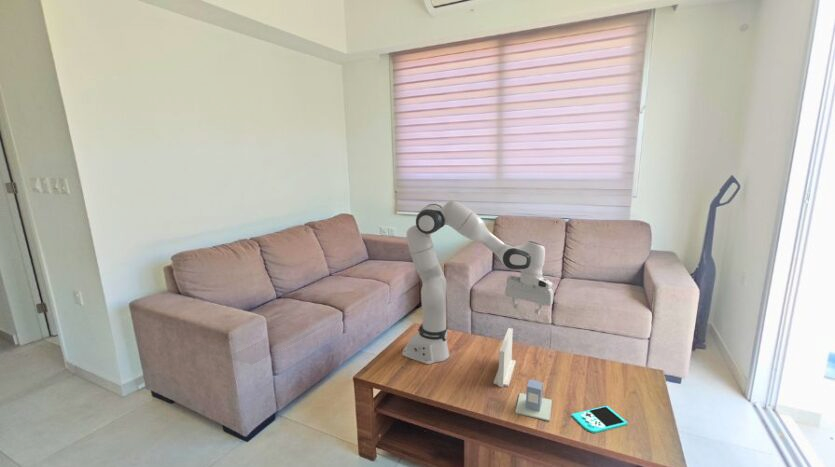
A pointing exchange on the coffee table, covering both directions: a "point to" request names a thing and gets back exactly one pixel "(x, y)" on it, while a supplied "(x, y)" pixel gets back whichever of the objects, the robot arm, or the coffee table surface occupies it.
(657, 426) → the coffee table surface
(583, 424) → the handheld game console
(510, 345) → the screen
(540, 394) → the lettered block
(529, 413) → the sage mat
